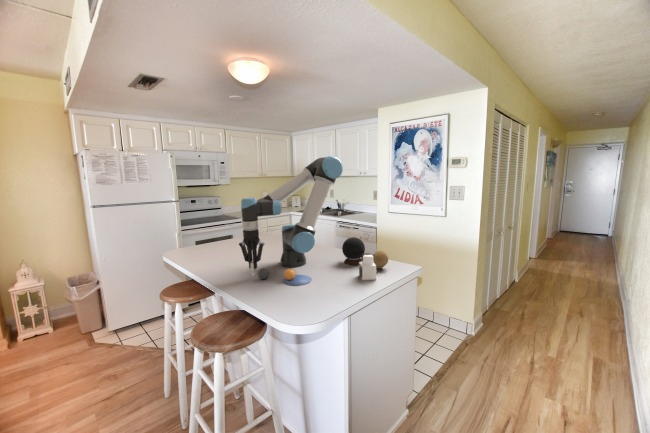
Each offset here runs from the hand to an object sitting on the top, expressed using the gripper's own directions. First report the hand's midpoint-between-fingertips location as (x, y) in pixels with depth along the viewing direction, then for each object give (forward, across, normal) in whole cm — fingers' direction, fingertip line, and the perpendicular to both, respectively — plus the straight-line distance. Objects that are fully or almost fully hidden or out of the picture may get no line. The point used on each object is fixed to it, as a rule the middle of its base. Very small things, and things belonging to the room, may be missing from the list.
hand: (253, 274), depth 145 cm
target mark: (+2, +23, 0) cm, 23 cm away
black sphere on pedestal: (+2, +48, +31) cm, 57 cm away
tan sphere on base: (+2, +63, +22) cm, 67 cm away
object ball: (-1, +19, 0) cm, 19 cm away
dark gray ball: (-1, +6, 0) cm, 6 cm away
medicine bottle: (+2, +57, +8) cm, 58 cm away
